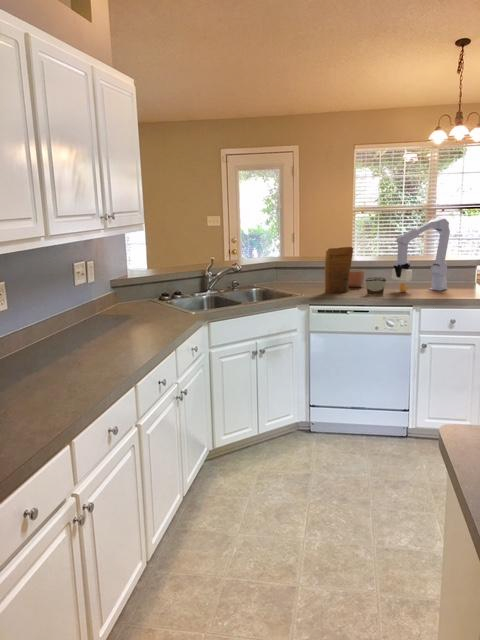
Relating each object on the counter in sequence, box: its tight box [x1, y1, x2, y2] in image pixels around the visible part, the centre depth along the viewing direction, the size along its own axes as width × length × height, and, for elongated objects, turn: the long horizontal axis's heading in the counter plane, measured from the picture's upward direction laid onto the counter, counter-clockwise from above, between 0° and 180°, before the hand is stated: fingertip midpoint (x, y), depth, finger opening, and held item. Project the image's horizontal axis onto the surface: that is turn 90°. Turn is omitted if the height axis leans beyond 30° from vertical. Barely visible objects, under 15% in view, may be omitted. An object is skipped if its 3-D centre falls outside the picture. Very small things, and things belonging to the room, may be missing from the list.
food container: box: [364, 276, 387, 296], centre depth 314 cm, size 12×6×10 cm, turn 84°
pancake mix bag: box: [324, 246, 354, 294], centre depth 320 cm, size 7×19×28 cm, turn 104°
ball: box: [398, 283, 409, 293], centre depth 320 cm, size 5×5×5 cm
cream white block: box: [391, 268, 413, 282], centre depth 319 cm, size 6×10×6 cm, turn 42°
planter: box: [348, 268, 366, 289], centre depth 342 cm, size 12×12×11 cm
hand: (401, 276), depth 320 cm, fingers closed on cream white block, 6 cm apart
